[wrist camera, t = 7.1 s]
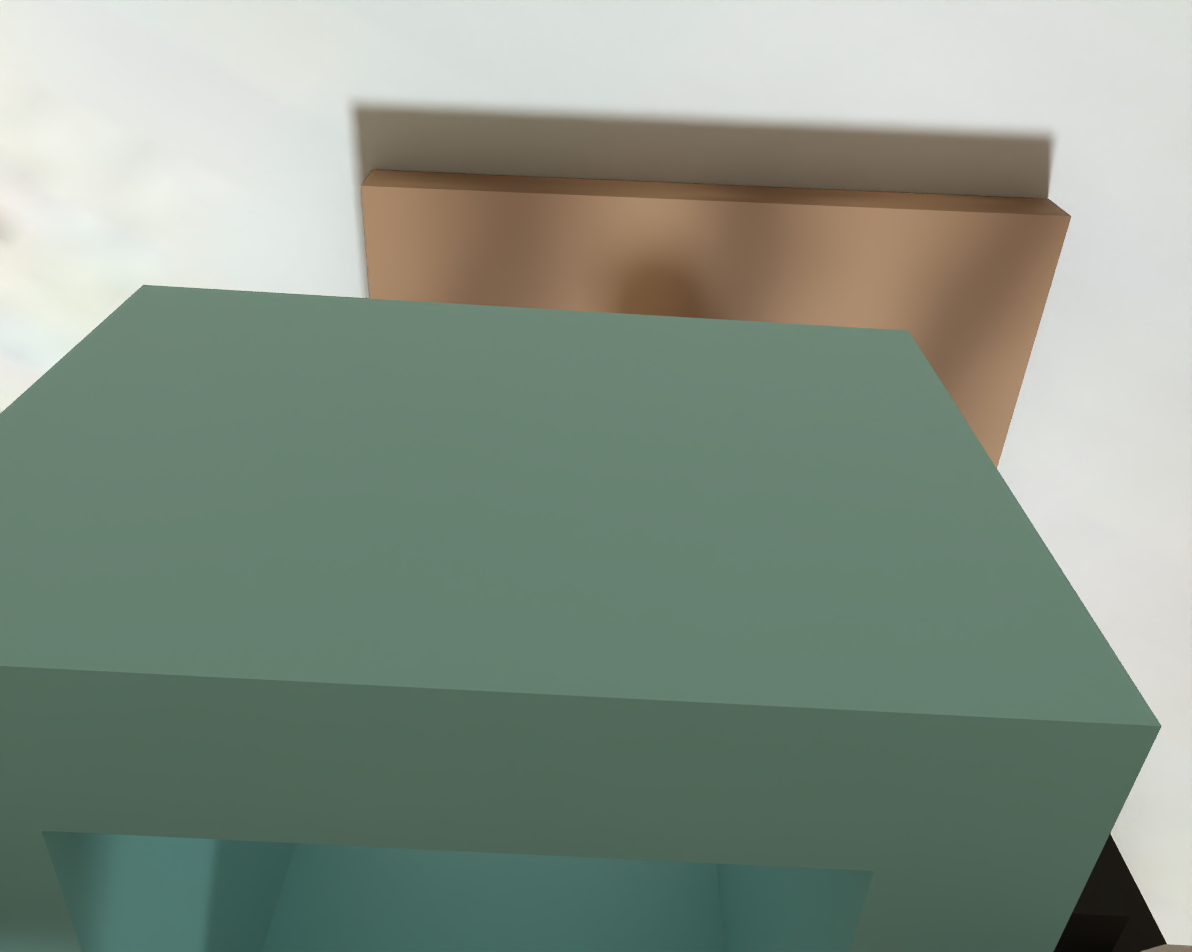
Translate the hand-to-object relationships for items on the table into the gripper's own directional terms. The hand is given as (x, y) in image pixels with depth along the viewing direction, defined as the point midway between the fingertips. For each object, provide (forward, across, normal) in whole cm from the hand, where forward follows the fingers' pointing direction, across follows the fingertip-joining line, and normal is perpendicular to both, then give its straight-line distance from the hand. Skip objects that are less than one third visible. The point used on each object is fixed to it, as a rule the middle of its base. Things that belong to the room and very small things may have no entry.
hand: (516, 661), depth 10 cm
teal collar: (+1, 0, 0) cm, 1 cm away
